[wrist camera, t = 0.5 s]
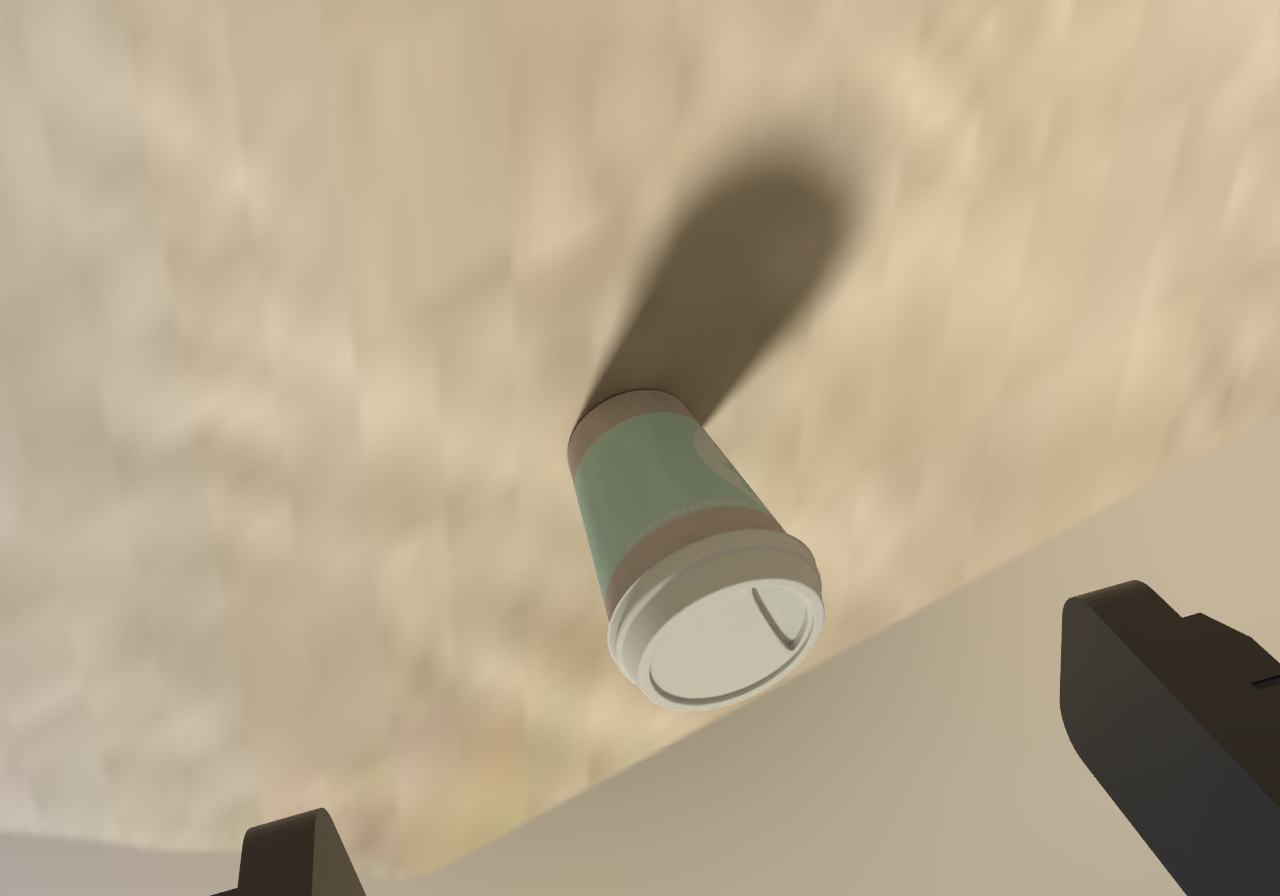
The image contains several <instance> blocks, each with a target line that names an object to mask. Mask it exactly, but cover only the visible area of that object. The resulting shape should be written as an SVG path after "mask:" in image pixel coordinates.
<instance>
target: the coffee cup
mask: <svg viewBox="0 0 1280 896" xmlns="http://www.w3.org/2000/svg"><path fill="white" fill-rule="evenodd" d="M567 455H568V463H569V467H570V471H571V475H572V479H573V483H574V487H575V491H576V495H577V499H578V503H579V507H580V511H581V514H582V518H583V522H584V526H585V530H586V534H587V538H588V542H589V546H590V549H591V553H592V557H593V561H594V565H595V569H596V573H597V577H598V581H599V585H600V588H601V592H602V596H603V600H604V604H605V608H606V612H607V615H608V619H609V627H608V634H607V641H608V647H609V651H610V654H611V656H612V658H613V659H614V661H615V662H616V663H617V664H618V666H619V668H620V670H621V671H622V673H623V674H624V675H625V676H626V677H627V678H628V679H629V680H630V681H631V682H633V683H634V684H636V685H637V686H638V687H639V688H640V689H641V690H642V692H643V693H644V694H645V695H646V696H647V697H648V698H649V699H650V700H651V701H653V702H654V703H656V704H658V705H660V706H663V707H665V708H669V709H673V710H679V711H701V710H709V709H714V708H719V707H723V706H726V705H730V704H733V703H736V702H739V701H741V700H744V699H746V698H748V697H751V696H753V695H755V694H757V693H759V692H761V691H762V690H764V689H766V688H768V687H770V686H771V685H773V684H774V683H776V682H777V681H779V680H780V679H781V678H783V677H784V676H785V675H787V674H788V673H789V672H790V671H792V670H793V669H794V668H795V667H796V666H797V665H798V664H799V663H800V662H801V661H802V660H803V659H804V658H805V657H806V655H807V654H808V653H809V651H810V650H811V649H812V647H813V646H814V645H815V643H816V641H817V639H818V637H819V635H820V633H821V630H822V627H823V623H824V617H825V611H824V604H823V600H822V596H821V589H822V585H821V578H820V574H819V571H818V569H817V567H816V562H815V559H814V557H813V555H812V553H811V551H810V550H809V548H808V547H807V546H806V545H805V544H804V543H803V542H801V541H800V540H799V539H797V538H795V537H793V536H791V535H789V534H787V533H786V532H785V531H784V529H783V528H782V527H781V525H780V524H779V523H778V522H777V520H776V519H775V518H774V517H773V515H772V514H771V513H770V512H769V510H768V509H767V508H766V507H765V505H764V504H763V503H762V501H761V500H760V499H759V498H758V496H757V495H756V494H755V493H754V491H753V490H752V489H751V488H750V486H749V485H748V484H747V483H746V481H745V480H744V479H743V478H742V476H741V475H740V474H739V473H738V471H737V470H736V469H735V468H734V466H733V465H732V464H731V462H730V461H729V460H728V459H727V457H726V456H725V455H724V454H723V452H722V451H721V450H720V449H719V447H718V446H717V445H716V444H715V442H714V441H713V440H712V439H711V437H710V436H709V435H708V434H707V432H706V431H705V430H704V429H703V427H702V426H701V425H700V424H699V422H698V421H697V420H696V419H695V417H694V416H693V415H692V414H691V413H690V411H689V410H688V409H687V408H686V406H685V405H684V404H683V403H682V402H681V401H680V400H679V399H678V398H676V397H674V396H673V395H671V394H668V393H666V392H662V391H657V390H636V391H631V392H626V393H623V394H620V395H617V396H615V397H612V398H610V399H608V400H606V401H604V402H603V403H601V404H600V405H598V406H597V407H595V408H594V409H593V410H591V411H590V412H589V413H588V414H587V415H586V416H585V417H584V418H583V419H582V420H581V422H580V423H579V424H578V426H577V427H576V428H575V430H574V432H573V434H572V436H571V439H570V442H569V445H568V454H567Z"/></svg>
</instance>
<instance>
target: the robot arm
mask: <svg viewBox="0 0 1280 896" xmlns="http://www.w3.org/2000/svg"><path fill="white" fill-rule="evenodd" d="M1061 644H1062V645H1061V674H1060V675H1061V676H1060V709H1061V714H1062V719H1063V722H1064V726H1065V728H1066V731H1067V734H1068V736H1069V739H1070V741H1071V743H1072V745H1073V747H1074V749H1075V750H1076V752H1077V754H1078V755H1079V757H1080V758H1081V759H1082V761H1083V762H1084V763H1085V765H1086V766H1087V767H1088V769H1089V770H1090V771H1091V773H1092V774H1093V775H1094V777H1095V778H1096V779H1097V780H1098V781H1099V783H1100V784H1101V786H1102V787H1103V788H1104V789H1105V790H1106V792H1107V793H1108V794H1109V796H1110V797H1111V798H1112V800H1113V801H1114V802H1115V804H1116V805H1117V806H1118V807H1119V809H1120V810H1121V811H1122V813H1123V814H1124V815H1125V816H1126V818H1127V819H1128V820H1129V822H1130V823H1131V824H1132V825H1133V827H1134V828H1135V829H1136V831H1137V832H1138V833H1139V835H1140V836H1141V837H1142V838H1143V840H1144V841H1145V842H1146V843H1147V845H1148V846H1149V847H1150V849H1151V850H1152V851H1153V853H1154V854H1155V855H1156V856H1157V858H1158V859H1159V860H1160V862H1161V863H1162V864H1163V865H1164V867H1165V868H1166V869H1167V871H1168V872H1169V873H1170V874H1171V876H1172V877H1173V878H1174V880H1175V881H1176V882H1177V883H1178V885H1179V886H1180V887H1181V888H1182V890H1183V891H1184V892H1185V894H1186V895H1187V896H1280V663H1279V662H1278V661H1277V660H1276V659H1274V658H1273V657H1272V656H1271V655H1270V654H1268V652H1267V651H1266V650H1264V649H1263V648H1262V647H1261V646H1260V645H1259V644H1258V643H1257V642H1256V641H1254V640H1253V639H1252V638H1251V637H1249V636H1247V635H1245V634H1243V633H1241V632H1239V631H1237V630H1235V629H1233V628H1231V627H1229V626H1227V625H1225V624H1222V623H1220V622H1218V621H1216V620H1214V619H1212V618H1210V617H1208V616H1206V615H1204V614H1202V613H1197V614H1194V615H1190V616H1187V617H1184V618H1182V617H1180V615H1179V614H1178V613H1177V612H1175V611H1174V610H1173V609H1172V608H1171V607H1170V606H1169V605H1168V604H1167V603H1166V602H1165V601H1164V600H1163V599H1162V598H1161V597H1160V596H1159V595H1158V594H1157V593H1156V592H1155V591H1154V590H1153V589H1151V588H1150V587H1149V586H1148V585H1146V584H1145V583H1143V582H1141V581H1138V580H1132V581H1128V582H1125V583H1121V584H1118V585H1114V586H1111V587H1107V588H1104V589H1100V590H1096V591H1093V592H1089V593H1086V594H1082V595H1079V596H1075V597H1072V598H1069V599H1068V600H1067V601H1066V603H1065V604H1064V608H1063V614H1062V643H1061ZM211 896H366V894H365V892H364V890H363V888H362V885H361V883H360V881H359V879H358V876H357V874H356V872H355V870H354V868H353V865H352V863H351V861H350V859H349V856H348V854H347V852H346V850H345V847H344V845H343V843H342V841H341V839H340V836H339V834H338V832H337V830H336V827H335V825H334V823H333V821H332V819H331V817H330V815H329V813H328V812H327V811H326V810H325V809H324V808H319V809H315V810H312V811H308V812H305V813H301V814H298V815H294V816H291V817H287V818H284V819H280V820H277V821H273V822H270V823H266V824H262V825H259V826H255V827H252V828H249V829H248V830H247V832H246V834H245V837H244V841H243V847H242V855H241V864H240V872H239V880H238V888H235V889H232V890H229V891H225V892H221V893H218V894H214V895H211Z"/></svg>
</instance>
